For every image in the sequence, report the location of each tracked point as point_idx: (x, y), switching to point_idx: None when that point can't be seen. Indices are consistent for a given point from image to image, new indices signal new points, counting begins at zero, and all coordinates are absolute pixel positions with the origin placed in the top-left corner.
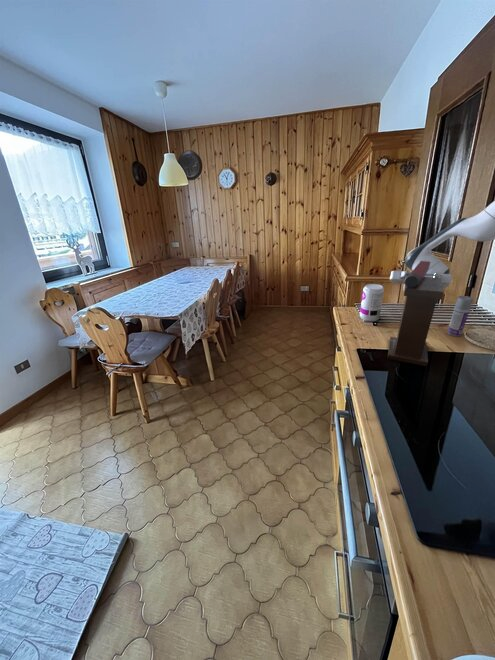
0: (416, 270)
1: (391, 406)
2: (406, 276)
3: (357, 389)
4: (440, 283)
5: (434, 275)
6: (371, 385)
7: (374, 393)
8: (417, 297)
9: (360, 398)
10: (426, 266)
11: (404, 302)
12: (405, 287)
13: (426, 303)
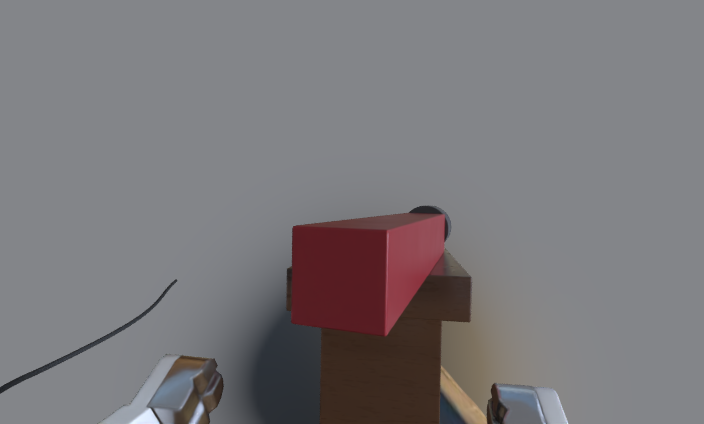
0: (421, 215)
1: None
2: (466, 272)
3: (478, 409)
4: None
5: (220, 378)
6: (457, 421)
7: (445, 406)
8: None
9: (464, 394)
10: (364, 218)
11: (439, 382)
12: (444, 247)
13: None
